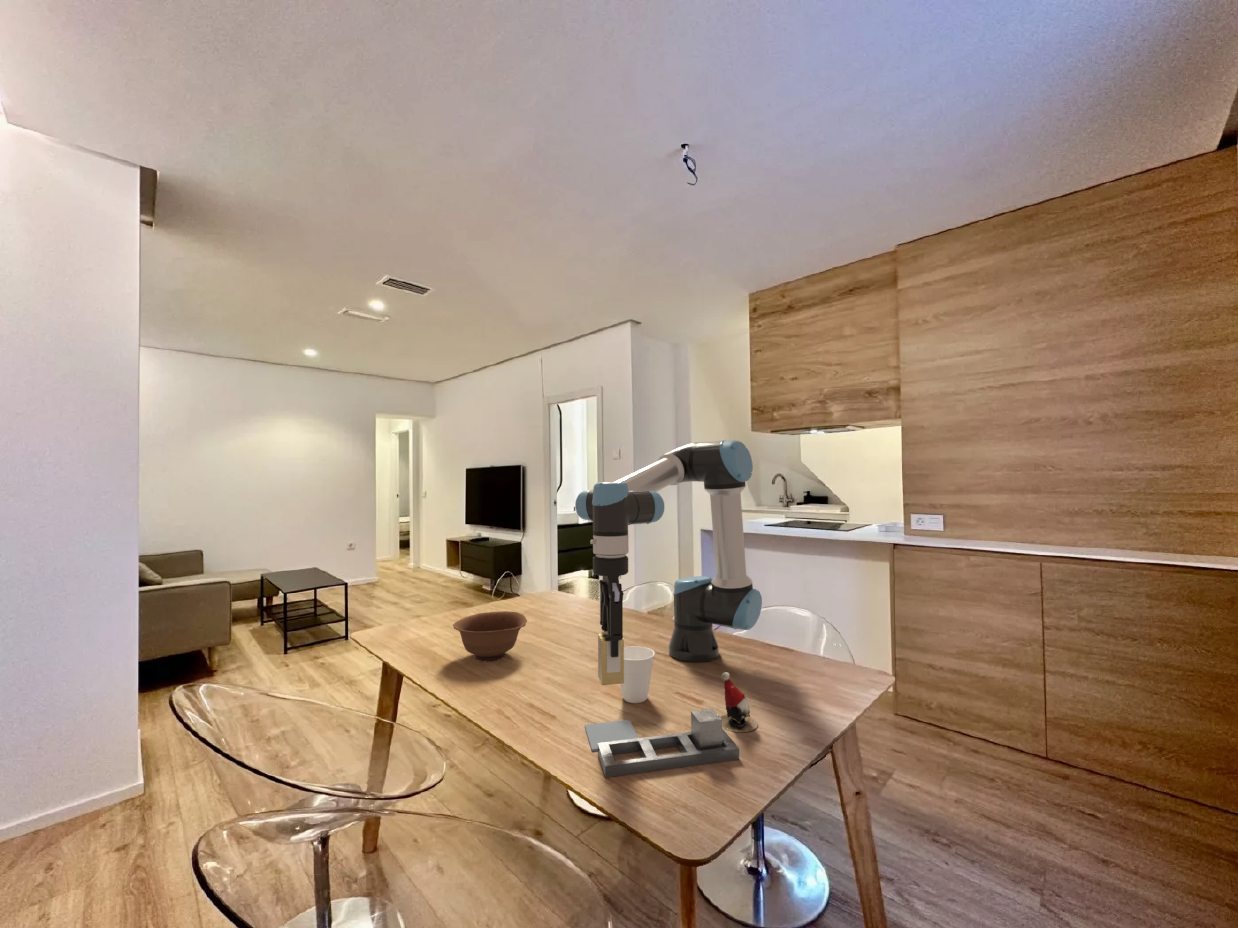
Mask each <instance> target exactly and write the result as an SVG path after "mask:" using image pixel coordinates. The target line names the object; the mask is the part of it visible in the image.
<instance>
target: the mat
mask: <svg viewBox="0 0 1238 928" xmlns="http://www.w3.org/2000/svg"><path fill="white" fill-rule="evenodd" d="M584 729H585V733H586V737H587V739H588V744H589V746H590V749H591V752H598V743H602V742H610V741H619V740H627V739H635V738H639V736H638V734H637V732H636V730H635V728H634V726H633V724H632V722H631V720H630V719H624V720H615V721H614V720H613V721H605V722H598V723H597V722H596V723H588V724H587V723H586V724H584Z"/></svg>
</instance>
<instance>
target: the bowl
mask: <svg viewBox="0 0 1238 928" xmlns="http://www.w3.org/2000/svg"><path fill="white" fill-rule="evenodd" d="M527 622H528V619H527V618H526V616H525V614H522V613H520V612H517V611H507V610H505V611H501V610H500V611H487V612H479V613H475V614H472V615H469V616H468V615H467V616H464V617H463V618H461V619H459V620H457V621H455V622H454V623H453V624H452V626H453V629H454V630H456V631H458V632H459V634H460V637H461V642H462V645H463V647H464V649H465V651H466V652H468V653H470V654H471V655H473V656H475V660H477V661H479V662H483V661H486V662H487V663H488V661H489V662H496V661H499V660H502V659H503V658H505V657H506V653H507V652H509V651H510V650H511V649H513V648H514V646H515V645H516V643H517V639H518V636H519V632H520V630H521V629H522V628H524V627H526V625H527ZM486 662H485V663H486Z"/></svg>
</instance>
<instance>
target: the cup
mask: <svg viewBox="0 0 1238 928" xmlns="http://www.w3.org/2000/svg"><path fill="white" fill-rule="evenodd" d="M655 655H656V652H655V651H654V650H653V649H652V648H649V647H645V646H638V645H637V646H635V645H634V646H633V645H632V646H631V645H630V646H624V683H623V684H620V690H621V696H622V699H623V700H624V701H625V702H627V703H629V704H630V703H631V704H640V703H641V704H642V703H643V702H646V700H647V699H648V696H649V691H650V683H651V678H652V677H651V676H652V670H653V664H654V657H655Z"/></svg>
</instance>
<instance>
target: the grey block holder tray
mask: <svg viewBox="0 0 1238 928" xmlns="http://www.w3.org/2000/svg"><path fill="white" fill-rule="evenodd" d="M674 747H677V748H678V749H679V751H680V752H679V753H672V754H663V755H657V754H656V751H655V750H658V749H666V748H674ZM634 752H639V755H640V758H634V759H626V760H625V759H624V760H618V761H615V758H614V755H618V754H619V755H621V754H626V753H627V754H628V753H634ZM597 756H598V759H599V762H600V765H601V768H602V771H603V775H604V777H605V778H612V777H618V776H619V777H620V776H626V775H627V776H628V775H634V774H635V775H636V774H641V773H649V772H656V771H664V770H673V769H678V768H679V769H680V768H685V767H693V766H700V765H706V764H707V765H708V764H715V763H723V762H727V761H728V762H730V761H736V760H740V748H739V746H738V745H737V744H736V743H735V742H734V740H733V739H732V738H731V737H730V736H729V734H728V733H727V732H726V731H725V730H724V728H722V748H716V749H709V750H701V751H697V749H696V748H695V746H694V745H693V743H692V742H691V731H687V732H685V731H684V732H677V733H676V732H675V733H669V734H662V735H654V736H653V735H652V736H646V737H644V736H643V737H638V738H635V739H627V740H619V741H610V742H602V743H598V751H597Z"/></svg>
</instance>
